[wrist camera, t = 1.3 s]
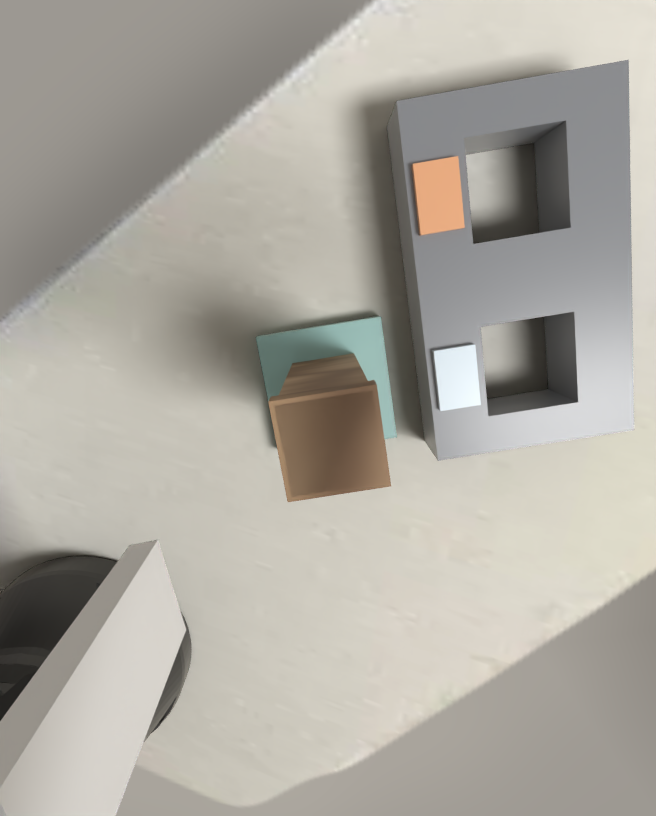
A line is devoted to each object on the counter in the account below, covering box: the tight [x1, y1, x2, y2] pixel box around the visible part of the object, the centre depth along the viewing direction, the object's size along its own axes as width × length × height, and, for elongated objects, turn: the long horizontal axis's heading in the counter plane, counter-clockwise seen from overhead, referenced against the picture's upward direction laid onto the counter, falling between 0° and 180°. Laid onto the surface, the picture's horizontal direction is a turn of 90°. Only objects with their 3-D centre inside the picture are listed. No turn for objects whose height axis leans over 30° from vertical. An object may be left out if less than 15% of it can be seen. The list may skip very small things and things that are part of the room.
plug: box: [268, 353, 391, 502], centre depth 26 cm, size 4×4×12 cm
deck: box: [256, 316, 397, 439], centre depth 32 cm, size 8×8×1 cm
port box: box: [387, 60, 634, 461], centre depth 29 cm, size 12×20×4 cm, turn 9°
